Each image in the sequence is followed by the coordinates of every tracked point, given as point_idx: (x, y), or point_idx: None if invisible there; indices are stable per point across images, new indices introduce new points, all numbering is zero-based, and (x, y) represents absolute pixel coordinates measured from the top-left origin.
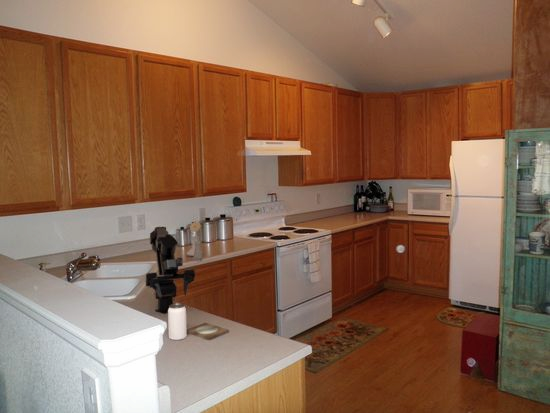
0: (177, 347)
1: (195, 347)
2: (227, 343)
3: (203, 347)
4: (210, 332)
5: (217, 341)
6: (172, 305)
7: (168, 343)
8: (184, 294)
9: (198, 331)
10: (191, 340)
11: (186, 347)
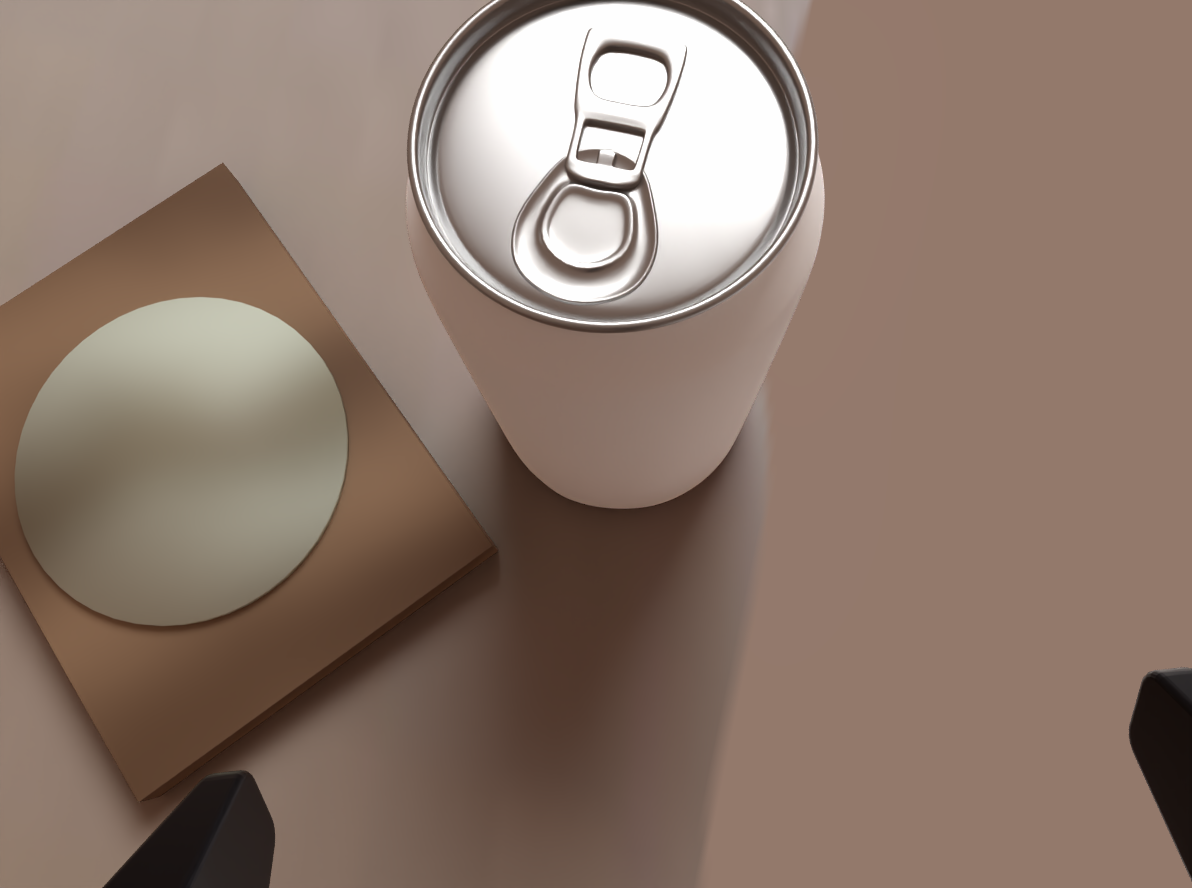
0: None
1: (436, 28)
2: (60, 46)
3: (348, 6)
4: (164, 315)
5: (153, 129)
6: (724, 273)
7: None
8: (266, 884)
9: (317, 399)
10: None
11: None
